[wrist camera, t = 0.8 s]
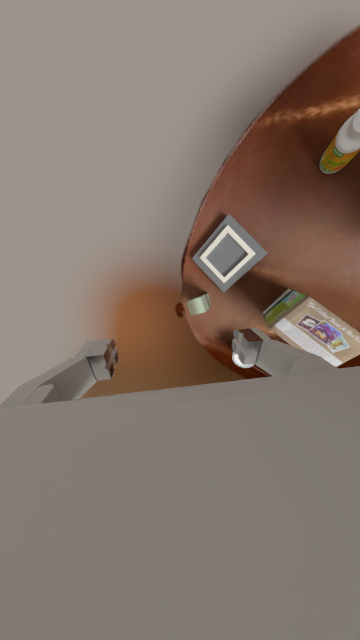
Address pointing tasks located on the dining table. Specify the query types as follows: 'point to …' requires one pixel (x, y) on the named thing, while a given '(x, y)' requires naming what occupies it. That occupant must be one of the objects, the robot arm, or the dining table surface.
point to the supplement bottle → (342, 146)
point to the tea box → (312, 328)
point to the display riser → (228, 254)
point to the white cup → (238, 362)
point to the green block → (199, 304)
